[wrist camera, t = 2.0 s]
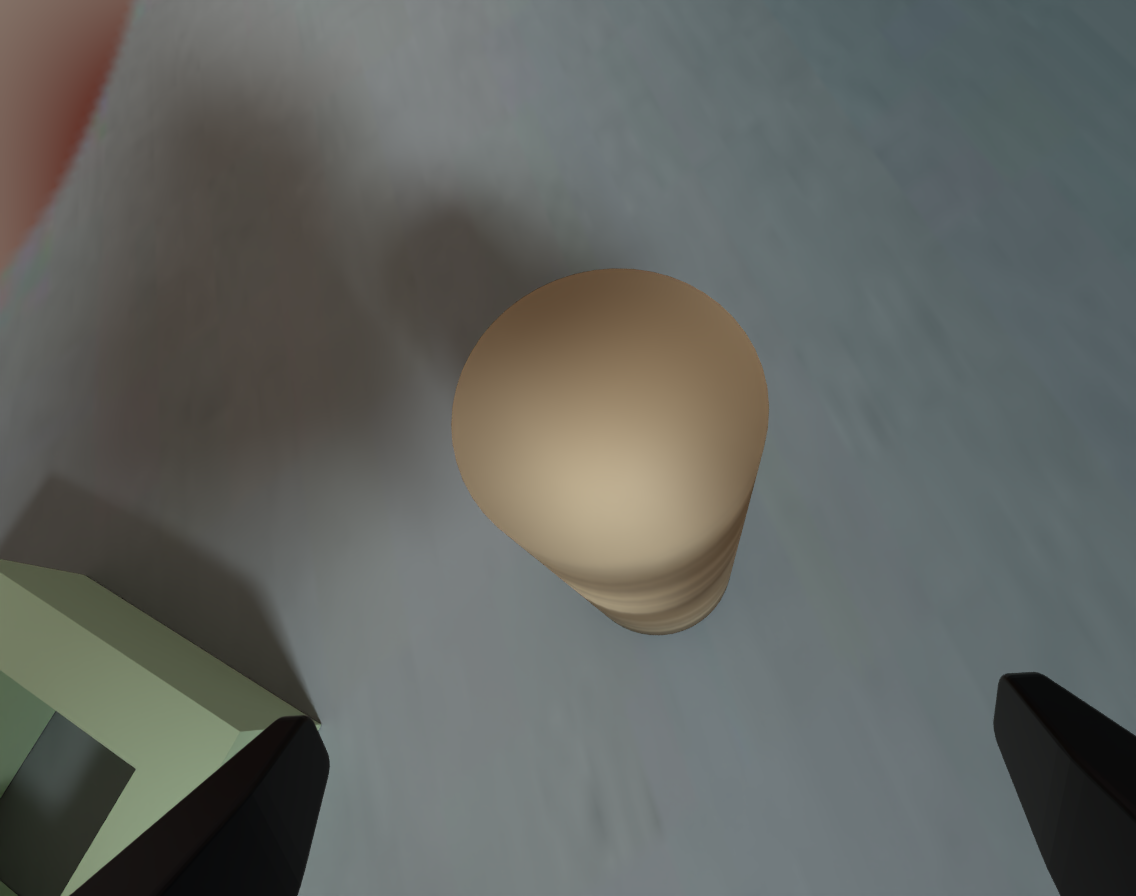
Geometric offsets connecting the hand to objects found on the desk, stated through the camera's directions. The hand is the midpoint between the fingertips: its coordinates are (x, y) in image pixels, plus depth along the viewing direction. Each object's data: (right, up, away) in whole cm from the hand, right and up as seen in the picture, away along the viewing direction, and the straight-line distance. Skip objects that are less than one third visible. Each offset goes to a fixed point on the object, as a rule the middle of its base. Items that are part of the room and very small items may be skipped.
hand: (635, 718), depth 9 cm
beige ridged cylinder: (+2, 0, +12) cm, 12 cm away
